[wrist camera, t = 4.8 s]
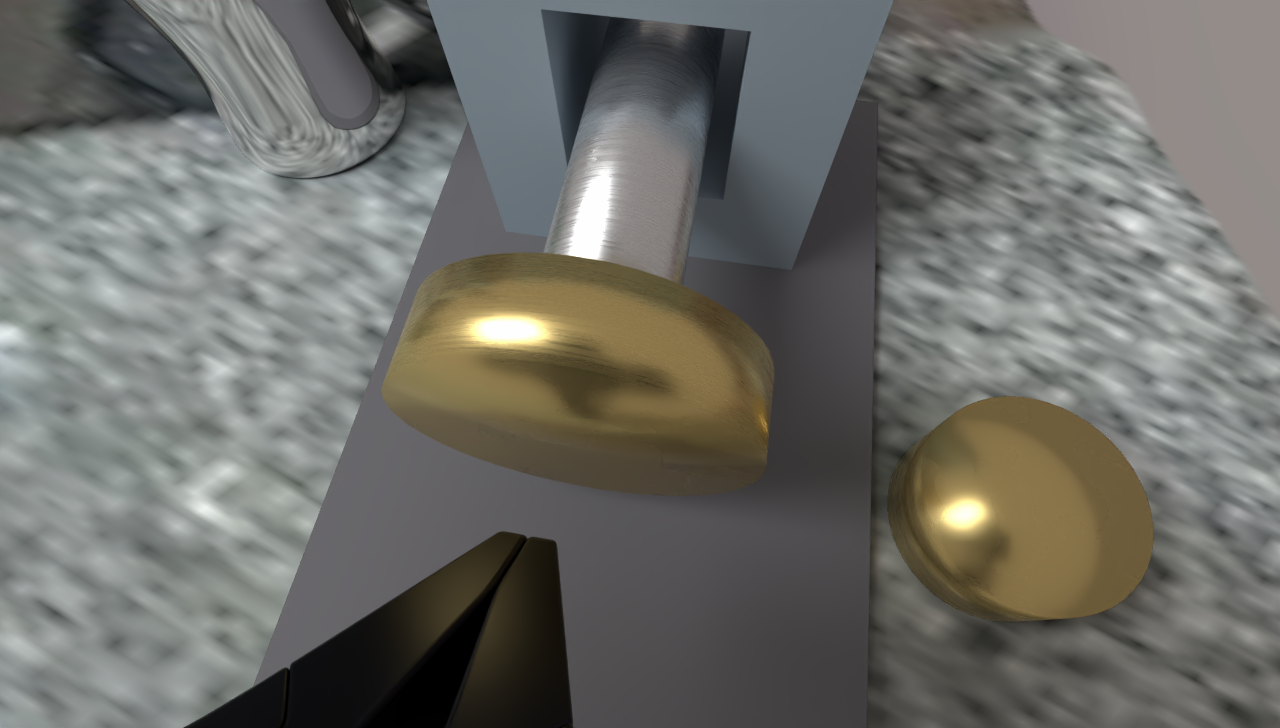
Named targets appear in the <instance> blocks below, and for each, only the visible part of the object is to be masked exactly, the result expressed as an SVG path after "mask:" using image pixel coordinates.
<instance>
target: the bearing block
mask: <svg viewBox="0 0 1280 728" xmlns="http://www.w3.org/2000/svg"><path fill="white" fill-rule="evenodd" d="M893 1H894V0H427V3H428V6H429V9H430V11H431V14H432V17H433V20H434V23H435V26H436V29H437V32H438V35H439V38H440V41H441V44H442V46H443V49H444V52H445V55H446V58H447V61H448V64H449V67H450V70H451V73H452V76H453V79H454V81H455V84H456V87H457V90H458V93H459V96H460V99H461V102H462V105H463V108H464V111H465V114H466V116H467V119H468V122H469V125H470V128H471V131H472V134H473V137H474V140H475V143H476V146H477V149H478V151H479V154H480V157H481V160H482V163H483V166H484V169H485V172H486V175H487V178H488V181H489V184H490V186H491V189H492V192H493V195H494V198H495V201H496V204H497V207H498V210H499V213H500V216H501V219H502V221H503V224H504V227H505V230H506V232H514V233H521V234H528V235H536V236H543V237H548V235H549V231H550V228H551V224H552V220H553V217H554V213H555V210H556V206H557V203H558V199H559V196H560V192H561V188H562V185H563V181H564V178H565V174H566V171H567V167H568V164H569V160H570V157H571V153H572V149H573V146H574V142H575V139H576V135H577V132H578V128H579V125H580V121H581V117H582V114H583V110H584V107H585V103H586V100H587V96H588V93H589V89H590V85H591V82H592V78H593V75H594V71H595V68H596V64H597V61H598V57H599V54H600V50H601V46H602V43H603V39H604V36H605V32H606V29H607V25H608V22H609V18H610V17H620V18H630V19H639V20H649V21H658V22H668V23H677V24H687V25H696V26H706V27H715V28H725V29H726V30H725V36H724V42H723V48H722V54H721V60H720V66H719V72H718V78H717V84H716V90H715V96H714V102H713V108H712V114H711V120H710V126H709V132H708V138H707V144H706V150H705V156H704V162H703V169H702V175H701V181H700V187H699V193H698V199H697V205H696V211H695V217H694V223H693V229H692V235H691V241H690V247H689V253H688V256H691V257H698V258H705V259H713V260H720V261H728V262H735V263H742V264H750V265H757V266H764V267H772V268H779V269H787V270H792V268H793V265H794V262H795V260H796V257H797V254H798V252H799V249H800V246H801V244H802V241H803V239H804V236H805V233H806V231H807V228H808V225H809V223H810V220H811V217H812V215H813V212H814V209H815V207H816V204H817V202H818V199H819V196H820V194H821V191H822V188H823V186H824V183H825V180H826V178H827V175H828V173H829V170H830V167H831V165H832V162H833V159H834V157H835V154H836V151H837V149H838V146H839V143H840V141H841V138H842V136H843V133H844V130H845V128H846V125H847V122H848V120H849V117H850V114H851V112H852V109H853V106H854V104H855V101H856V99H857V96H858V93H859V91H860V88H861V85H862V83H863V80H864V77H865V75H866V72H867V69H868V67H869V64H870V62H871V59H872V56H873V54H874V51H875V48H876V46H877V43H878V40H879V38H880V35H881V32H882V30H883V27H884V25H885V22H886V19H887V17H888V14H889V11H890V9H891V6H892V3H893Z"/></svg>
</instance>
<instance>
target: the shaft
mask: <svg viewBox="0 0 1280 728" xmlns="http://www.w3.org/2000/svg"><path fill="white" fill-rule="evenodd" d="M725 30H726V29H725V28H715V27H706V26H696V25H687V24H677V23H668V22H658V21H649V20H639V19H630V18H620V17H610V18H609V22H608V25H607V29H606V32H605V36H604V39H603V43H602V46H601V50H600V54H599V57H598V61H597V64H596V68H595V71H594V75H593V78H592V82H591V85H590V89H589V93H588V96H587V100H586V103H585V107H584V110H583V114H582V117H581V121H580V125H579V128H578V132H577V135H576V139H575V142H574V146H573V149H572V153H571V157H570V160H569V164H568V167H567V171H566V174H565V178H564V181H563V185H562V188H561V192H560V196H559V199H558V203H557V206H556V210H555V213H554V217H553V220H552V224H551V228H550V231H549V235H548V238H547V242H546V245H545V249H544V252H543V253H523V252H515V253H500V254H489V255H483V256H478V257H472V258H467V259H464V260H461V261H458V262H455V263H451V264H449V265H447V266H445V267H443V268H441V269H439V270H437V271H435V272H434V273H433V274H431V275H430V276H429V277H428V278H426V279H425V280H424V282H423V283H422V284H421V286H420V287H419V289H418V290H417V293H416V296H415V299H414V301H413V304H412V307H411V309H410V312H409V315H408V317H407V320H406V323H405V326H404V328H403V331H402V334H401V336H400V339H399V342H398V344H397V347H396V350H395V353H394V355H393V358H392V361H391V363H390V366H389V369H388V371H387V374H386V377H385V379H384V382H383V386H382V390H381V391H382V396H383V399H384V401H385V402H386V404H387V406H388V407H389V408H390V409H391V410H392V411H393V412H394V413H395V415H397V416H398V417H399V418H400V419H402V420H403V421H404V422H405V423H407V424H408V425H410V426H411V427H413V428H414V429H416V430H417V431H419V432H421V433H423V434H424V435H426V436H428V437H430V438H432V439H434V440H436V441H438V442H440V443H442V444H444V445H446V446H448V447H451V448H453V449H455V450H458V451H460V452H462V453H465V454H467V455H470V456H473V457H475V458H478V459H481V460H484V461H487V462H490V463H492V464H495V465H498V466H502V467H505V468H508V469H512V470H515V471H518V472H522V473H526V474H529V475H533V476H537V477H541V478H545V479H549V480H554V481H558V482H563V483H568V484H573V485H578V486H584V487H589V488H595V489H602V490H608V491H616V492H624V493H634V494H645V495H662V496H697V495H710V494H718V493H724V492H729V491H733V490H738V489H741V488H743V487H746V486H749V485H751V484H752V483H754V482H756V481H757V480H759V479H760V477H761V476H762V475H763V474H764V472H765V469H766V463H767V452H768V440H769V429H770V418H771V407H772V396H773V384H774V362H773V359H772V356H771V353H770V351H769V350H768V348H767V346H766V345H765V343H764V342H763V340H762V339H761V338H760V337H759V336H758V334H757V333H756V332H755V331H754V330H753V329H752V328H751V327H750V326H749V325H748V324H746V323H745V322H744V321H743V320H741V319H740V318H739V317H738V316H737V315H735V314H734V313H732V312H731V311H729V310H728V309H726V308H725V307H723V306H722V305H720V304H718V303H717V302H715V301H713V300H711V299H710V298H708V297H706V296H704V295H702V294H700V293H698V292H696V291H694V290H692V289H690V288H687V287H685V286H683V283H684V277H685V271H686V265H687V259H688V253H689V247H690V241H691V235H692V229H693V223H694V217H695V211H696V205H697V199H698V193H699V187H700V181H701V175H702V169H703V162H704V156H705V150H706V144H707V138H708V132H709V126H710V120H711V114H712V108H713V102H714V96H715V90H716V84H717V78H718V72H719V66H720V60H721V54H722V48H723V42H724V36H725Z"/></svg>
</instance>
